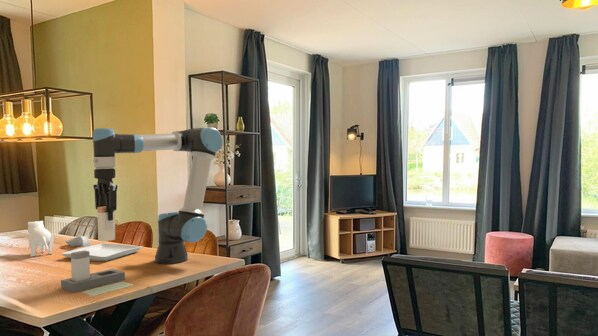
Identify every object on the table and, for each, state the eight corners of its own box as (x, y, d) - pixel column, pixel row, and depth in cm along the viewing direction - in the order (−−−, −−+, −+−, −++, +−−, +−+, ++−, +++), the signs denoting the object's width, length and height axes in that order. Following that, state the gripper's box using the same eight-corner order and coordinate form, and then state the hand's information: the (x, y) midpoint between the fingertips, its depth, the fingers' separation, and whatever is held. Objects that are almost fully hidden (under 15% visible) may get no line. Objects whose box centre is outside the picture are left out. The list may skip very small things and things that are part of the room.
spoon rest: (62, 246, 244) (62, 233, 244) (84, 243, 253) (84, 231, 252) (76, 252, 227) (76, 238, 227) (99, 248, 236) (99, 235, 236)
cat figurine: (60, 256, 216) (59, 223, 216) (36, 259, 208) (35, 225, 208) (44, 249, 233) (43, 219, 233) (22, 252, 226) (21, 221, 225)
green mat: (122, 284, 165) (122, 281, 165) (134, 287, 161) (134, 284, 161) (80, 294, 152) (80, 291, 152) (92, 298, 148) (92, 295, 148)
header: (112, 278, 173) (112, 268, 173) (125, 282, 168) (124, 272, 168) (61, 291, 157) (60, 280, 157) (73, 295, 152) (72, 284, 152)
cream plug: (110, 238, 170) (109, 205, 169) (115, 239, 167) (114, 206, 167) (98, 240, 166) (97, 207, 165) (103, 241, 163) (102, 207, 163)
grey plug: (85, 284, 161) (84, 250, 161) (89, 286, 159) (89, 251, 159) (71, 287, 157) (71, 252, 157) (76, 289, 155) (75, 253, 155)
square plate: (105, 264, 200) (104, 256, 200) (59, 260, 208) (59, 252, 208) (143, 252, 225) (143, 245, 225) (101, 249, 234) (101, 242, 234)
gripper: (84, 168, 168) (86, 227, 168) (106, 168, 158) (108, 231, 158) (102, 167, 174) (104, 225, 174) (125, 167, 164) (127, 228, 164)
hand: (106, 228), depth 166 cm, fingers closed on cream plug, 3 cm apart
